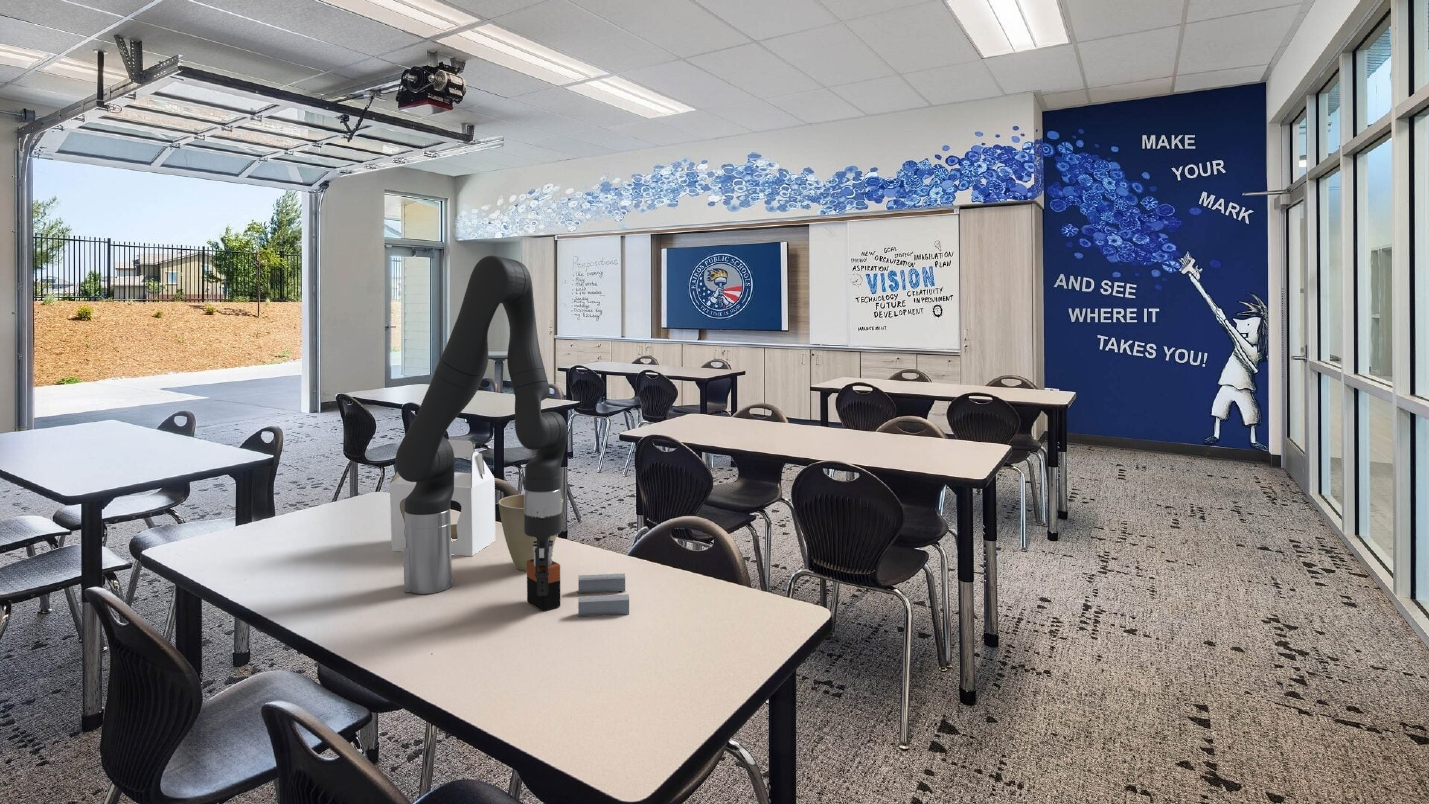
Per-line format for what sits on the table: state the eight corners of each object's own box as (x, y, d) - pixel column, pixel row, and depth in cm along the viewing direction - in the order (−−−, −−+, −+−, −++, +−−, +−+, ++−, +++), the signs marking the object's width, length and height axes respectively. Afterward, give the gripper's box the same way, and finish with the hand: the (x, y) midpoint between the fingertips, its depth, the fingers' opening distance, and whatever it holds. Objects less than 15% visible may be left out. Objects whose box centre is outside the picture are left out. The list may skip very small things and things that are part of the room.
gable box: (496, 541, 199) (495, 437, 197) (473, 556, 186) (471, 445, 184) (418, 537, 203) (415, 434, 200) (390, 551, 190) (387, 441, 187)
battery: (542, 612, 151) (542, 563, 150) (526, 602, 156) (525, 555, 155) (561, 607, 154) (561, 559, 153) (544, 597, 159) (544, 551, 158)
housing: (578, 616, 149) (578, 600, 149) (578, 590, 164) (578, 575, 164) (629, 614, 151) (629, 597, 151) (624, 588, 166) (624, 573, 165)
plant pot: (511, 580, 170) (510, 511, 168) (491, 562, 182) (490, 497, 181) (573, 569, 178) (573, 503, 176) (550, 553, 190) (549, 491, 189)
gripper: (526, 502, 160) (527, 577, 161) (521, 520, 146) (522, 601, 147) (562, 501, 161) (563, 576, 163) (560, 518, 147) (561, 599, 149)
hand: (543, 588), depth 155 cm, fingers closed on battery, 8 cm apart
